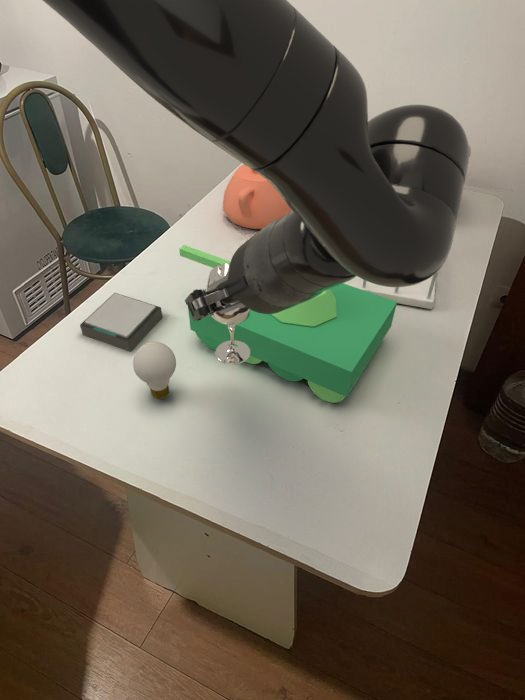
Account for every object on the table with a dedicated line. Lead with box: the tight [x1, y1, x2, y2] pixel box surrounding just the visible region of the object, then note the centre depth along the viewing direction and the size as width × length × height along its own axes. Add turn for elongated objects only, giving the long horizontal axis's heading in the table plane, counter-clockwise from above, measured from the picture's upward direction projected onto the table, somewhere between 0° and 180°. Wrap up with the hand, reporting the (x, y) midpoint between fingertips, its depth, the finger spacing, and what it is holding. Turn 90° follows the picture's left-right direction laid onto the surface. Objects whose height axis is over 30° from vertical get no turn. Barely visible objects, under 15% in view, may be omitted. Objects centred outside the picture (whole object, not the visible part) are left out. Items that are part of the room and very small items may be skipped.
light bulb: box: [132, 341, 177, 400], centre depth 73 cm, size 6×6×10 cm
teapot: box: [222, 164, 291, 230], centre depth 111 cm, size 22×15×12 cm
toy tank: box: [178, 244, 398, 404], centre depth 82 cm, size 18×12×35 cm
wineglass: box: [205, 263, 253, 366], centre depth 61 cm, size 6×6×12 cm
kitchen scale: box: [79, 292, 163, 352], centre depth 87 cm, size 10×10×3 cm
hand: (223, 300), depth 62 cm, fingers closed on wineglass, 5 cm apart
